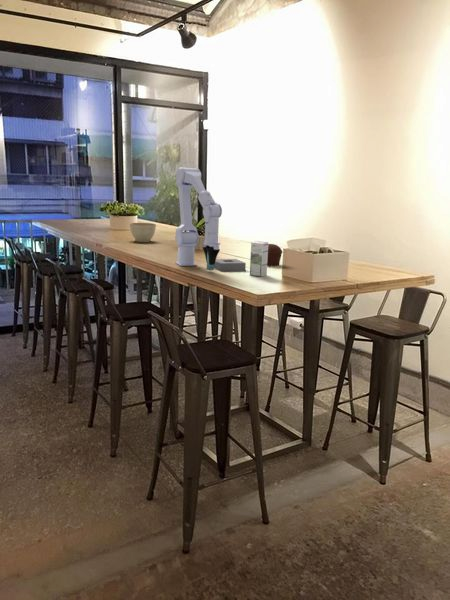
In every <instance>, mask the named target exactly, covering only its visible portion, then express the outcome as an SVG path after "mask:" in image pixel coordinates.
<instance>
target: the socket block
mask: <svg viewBox="0 0 450 600" xmlns="http://www.w3.org/2000/svg"><path fill="white" fill-rule="evenodd" d="M214 270H217V271H219V272H239V271H241V272H242V271H243V272H245V271H246V262H244V261H242V260H239V259H238V258H216V261H215V264H214Z"/></svg>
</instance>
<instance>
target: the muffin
mask: <svg viewBox="0 0 450 600" xmlns="http://www.w3.org/2000/svg"><path fill="white" fill-rule="evenodd" d="M282 254H283V250H282V248H281V247H280V246H279V245H278V244H274V243H268V258H267V267H278V266H280V264H281V259H282V258H281V257H282Z"/></svg>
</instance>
